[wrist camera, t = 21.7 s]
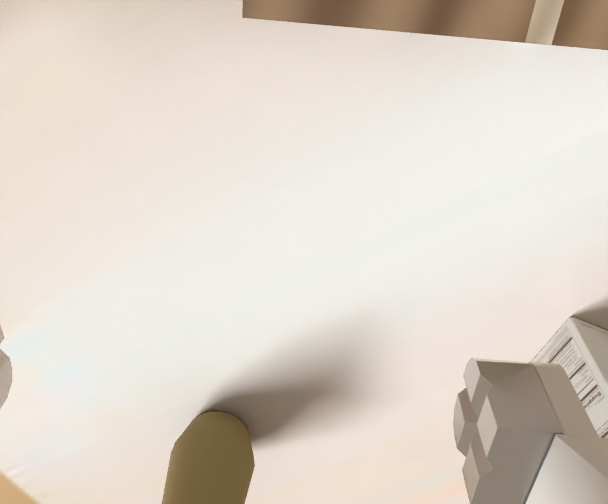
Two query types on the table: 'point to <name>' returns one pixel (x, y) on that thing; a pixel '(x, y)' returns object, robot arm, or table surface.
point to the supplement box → (583, 366)
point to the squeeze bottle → (210, 462)
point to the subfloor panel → (454, 18)
